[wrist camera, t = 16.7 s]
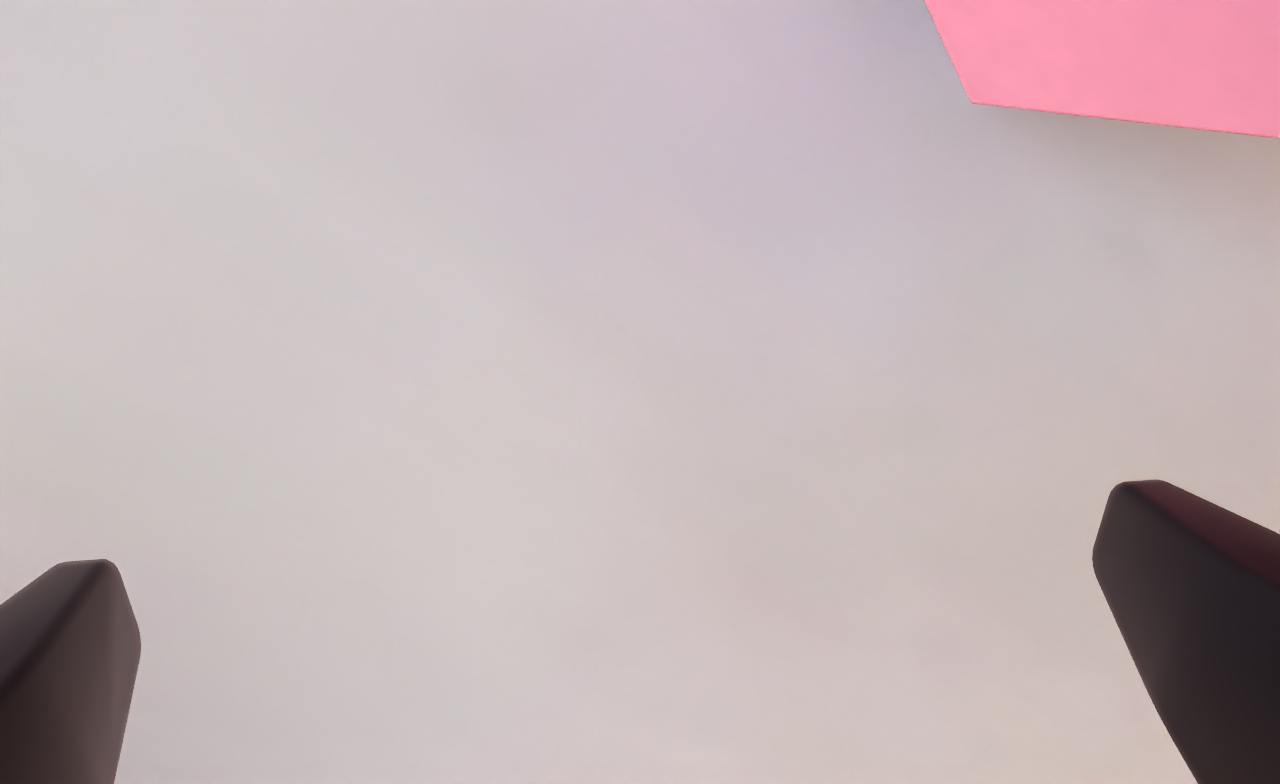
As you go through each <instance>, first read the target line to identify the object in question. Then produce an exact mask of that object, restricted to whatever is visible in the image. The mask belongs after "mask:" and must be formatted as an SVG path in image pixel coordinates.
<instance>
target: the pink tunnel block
mask: <svg viewBox="0 0 1280 784" xmlns="http://www.w3.org/2000/svg"><path fill="white" fill-rule="evenodd" d="M924 2H925V4H926V6H927V9H928V11H929V13H930V15H931V17H932V19H933V22H934V24H935V26H936V28H937V30H938V33H939V35H940V37H941V39H942V41H943V44H944V46H945V48H946V50H947V52H948V54H949V57H950V59H951V61H952V63H953V65H954V68H955V70H956V72H957V74H958V76H959V78H960V81H961V83H962V85H963V87H964V89H965V92H966V94H967V96H968V98H969V100H970V101H971V102H972V103H975V104H984V105H993V106H1001V107H1010V108H1019V109H1028V110H1036V111H1045V112H1054V113H1062V114H1071V115H1080V116H1088V117H1097V118H1106V119H1114V120H1123V121H1132V122H1141V123H1149V124H1158V125H1167V126H1175V127H1184V128H1193V129H1201V130H1210V131H1219V132H1227V133H1236V134H1245V135H1254V136H1262V137H1271V138H1280V0H924Z"/></svg>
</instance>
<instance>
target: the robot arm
mask: <svg viewBox="0 0 1280 784" xmlns="http://www.w3.org/2000/svg"><path fill="white" fill-rule="evenodd" d="M1092 560H1093V568H1094V572H1095V575H1096V578H1097V580H1098V582H1099V585H1100V587H1101V589H1102V591H1103V593H1104V596H1105V598H1106V600H1107V602H1108V605H1109V607H1110V609H1111V611H1112V614H1113V616H1114V618H1115V620H1116V622H1117V625H1118V627H1119V629H1120V631H1121V634H1122V636H1123V638H1124V640H1125V642H1126V645H1127V647H1128V649H1129V651H1130V654H1131V656H1132V658H1133V660H1134V663H1135V665H1136V667H1137V669H1138V671H1139V674H1140V676H1141V678H1142V680H1143V683H1144V685H1145V687H1146V689H1147V691H1148V694H1149V696H1150V698H1151V700H1152V702H1153V704H1154V706H1155V708H1156V710H1157V712H1158V714H1159V716H1160V718H1161V720H1162V721H1163V723H1164V725H1165V727H1166V729H1167V731H1168V732H1169V734H1170V736H1171V738H1172V740H1173V741H1174V743H1175V745H1176V747H1177V748H1178V750H1179V752H1180V754H1181V755H1182V757H1183V759H1184V760H1185V762H1186V764H1187V766H1188V767H1189V769H1190V771H1191V772H1192V774H1193V776H1194V778H1195V779H1196V781H1197V783H1198V784H1280V534H1278V533H1276V532H1274V531H1272V530H1269V529H1267V528H1265V527H1263V526H1261V525H1259V524H1256V523H1254V522H1252V521H1250V520H1248V519H1246V518H1244V517H1241V516H1239V515H1237V514H1235V513H1233V512H1231V511H1228V510H1226V509H1224V508H1222V507H1220V506H1218V505H1215V504H1213V503H1211V502H1209V501H1207V500H1205V499H1202V498H1200V497H1198V496H1196V495H1194V494H1192V493H1189V492H1187V491H1185V490H1183V489H1181V488H1179V487H1176V486H1174V485H1172V484H1170V483H1168V482H1165V481H1162V480H1142V481H1129V482H1122V483H1120V484H1118V485H1116V486H1115V487H1114V488H1113V490H1112V491H1111V492H1110V495H1109V497H1108V501H1107V504H1106V507H1105V511H1104V514H1103V517H1102V521H1101V524H1100V528H1099V531H1098V534H1097V538H1096V541H1095V544H1094V548H1093V557H1092ZM140 651H141V639H140V632H139V628H138V625H137V622H136V619H135V616H134V613H133V610H132V607H131V605H130V602H129V599H128V596H127V593H126V590H125V587H124V584H123V581H122V578H121V575H120V573H119V571H118V569H117V567H116V566H115V565H114V563H112V562H110V561H108V560H106V559H98V560H84V561H71V562H63V563H60V564H57V565H55V566H54V567H52V568H51V569H49V570H48V571H46V572H45V573H44V574H42V575H41V576H40V577H38V578H37V579H35V580H34V581H33V582H31V583H30V584H29V585H27V586H26V587H24V588H23V589H22V590H20V591H19V592H18V593H16V594H15V595H14V596H12V597H11V598H9V599H8V600H7V601H5V602H4V603H3V604H1V605H0V784H114V780H115V776H116V771H117V766H118V761H119V756H120V751H121V747H122V742H123V737H124V732H125V727H126V722H127V718H128V713H129V708H130V703H131V698H132V693H133V689H134V684H135V679H136V674H137V669H138V664H139V659H140Z"/></svg>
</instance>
